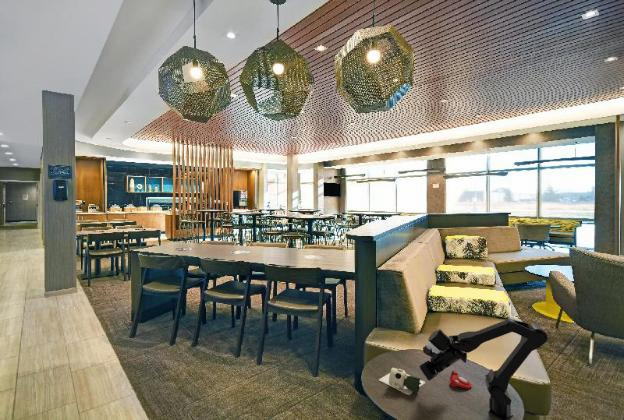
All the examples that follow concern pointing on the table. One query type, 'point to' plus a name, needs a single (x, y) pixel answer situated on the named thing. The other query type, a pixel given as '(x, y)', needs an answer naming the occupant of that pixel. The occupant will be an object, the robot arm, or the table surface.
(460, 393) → the table surface
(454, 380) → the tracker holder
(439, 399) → the table surface
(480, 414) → the table surface
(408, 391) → the oatmeal mat
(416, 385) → the character mug
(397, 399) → the table surface
